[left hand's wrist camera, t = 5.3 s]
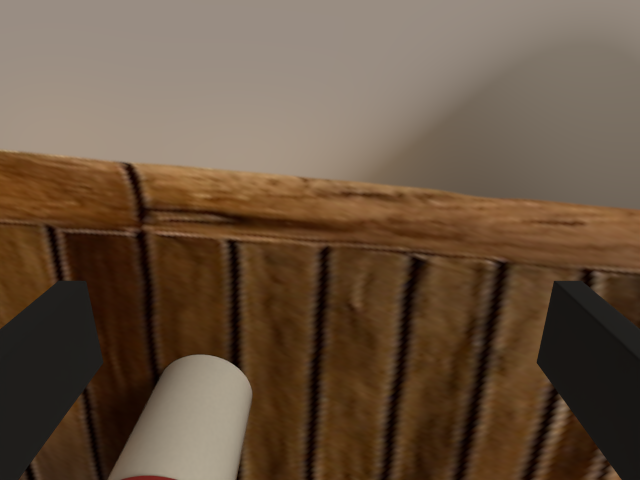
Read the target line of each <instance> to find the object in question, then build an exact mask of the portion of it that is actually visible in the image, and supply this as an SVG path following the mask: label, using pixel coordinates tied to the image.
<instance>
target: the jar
mask: <svg viewBox="0 0 640 480" xmlns="http://www.w3.org/2000/svg"><path fill="white" fill-rule="evenodd" d="M251 404H252V390H251V386H250V383H249V381H248V380H247V378H246V376H245V375H244V374H243V372H242V371H241V370H239V369H238V368H237V367H236V366H235V365H233V364H232V363H230V362H228V361H226V360H224V359H221V358H219V357H215V356H211V355H191V356H186V357H183V358H180V359H178V360H176V361H174V362H173V363H171V364H170V365H169V366H168V367H167V368H165V370H164V371H163V372H162V374H161V376H160V378H159V380H158V382H157V384H156V385H155V387H154V389H153V391H152V393H151V395H150V397H149V399H148V401H147V403H146V405H145V407H144V409H143V411H142V413H141V415H140V417H139V419H138V421H137V423H136V425H135V426H134V428H133V430H132V432H131V434H130V436H129V438H128V440H127V442H126V444H125V446H124V448H123V450H122V452H121V454H120V456H119V458H118V460H117V462H116V464H115V465H114V467H113V469H112V471H111V473H110V475H109V477H108V479H107V480H121V479H124V478H129V477H134V476H149V475H150V476H162V477H168V478H173V479H176V480H236V478H237V473H238V468H239V463H240V458H241V453H242V448H243V443H244V438H245V433H246V428H247V423H248V418H249V414H250V409H251Z"/></svg>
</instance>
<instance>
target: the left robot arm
mask: <svg viewBox="0 0 640 480" xmlns="http://www.w3.org/2000/svg"><path fill="white" fill-rule="evenodd" d="M102 364H103V359H102V354H101V350H100V345H99V340H98V335H97V331H96V326H95V321H94V317H93V312H92V307H91V303H90V298H89V293H88V289H87V284H86V281H58V282H57V283H56V284H54V285H53V286H52V287H51V288H50V289H48V290H47V291H46V292H45V293H43V294H42V295H41V296H40V297H39V298H37V299H36V300H35V301H34V302H33V303H31V304H30V305H29V306H28V307H27V308H25V309H24V310H23V311H22V312H21V313H19V314H18V315H17V316H16V317H14V318H13V319H12V320H11V321H10V322H8V323H7V324H6V325H5V326H4V327H2V328H1V329H0V480H18V479H19V478H20V477H21V475H22V474H23V472H24V471H25V470H26V468H27V467H28V466H29V464H30V463H31V461H32V460H33V459H34V457H35V456H36V455H37V453H38V452H39V450H40V449H41V448H42V446H43V445H44V444H45V442H46V441H47V439H48V438H49V437H50V435H51V434H52V433H53V431H54V430H55V428H56V427H57V426H58V424H59V423H60V422H61V420H62V419H63V417H64V416H65V415H66V413H67V412H68V411H69V409H70V408H71V406H72V405H73V404H74V402H75V401H76V400H77V398H78V397H79V395H80V394H81V393H82V391H83V390H84V389H85V387H86V386H87V384H88V383H89V382H90V380H91V379H92V378H93V376H94V375H95V373H96V372H97V371H98V369H99V368H100V367H101V365H102ZM537 364H538V365H539V367H540V368H541V369H542V371H543V372H544V373H545V375H546V376H547V378H548V379H549V380H550V382H551V383H552V384H553V386H554V387H555V389H556V390H557V391H558V393H559V394H560V395H561V397H562V398H563V400H564V401H565V402H566V404H567V405H568V406H569V408H570V409H571V411H572V412H573V413H574V415H575V416H576V417H577V419H578V420H579V422H580V423H581V424H582V426H583V427H584V428H585V430H586V431H587V433H588V434H589V435H590V437H591V438H592V439H593V441H594V442H595V444H596V445H597V446H598V448H599V449H600V450H601V452H602V453H603V455H604V456H605V457H606V459H607V460H608V461H609V463H610V464H611V466H612V467H613V468H614V470H615V471H616V472H617V474H618V475H619V477H620V478H621V479H622V480H640V329H639V328H638V327H636V326H635V325H634V324H633V323H632V322H630V321H629V320H628V319H627V318H626V317H624V316H623V315H622V314H621V313H619V312H618V311H617V310H616V309H615V308H613V307H612V306H611V305H610V304H609V303H607V302H606V301H605V300H604V299H603V298H601V297H600V296H599V295H598V294H597V293H595V292H594V291H593V290H592V289H590V288H589V287H588V286H587V285H586V284H584V283H583V282H582V281H554V284H553V289H552V293H551V298H550V303H549V307H548V312H547V317H546V321H545V326H544V331H543V335H542V340H541V345H540V350H539V354H538V359H537Z"/></svg>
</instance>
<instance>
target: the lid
mask: <svg viewBox="0 0 640 480" xmlns="http://www.w3.org/2000/svg"><path fill="white" fill-rule="evenodd" d="M121 480H176V479H173V478H168V477H162V476H150V475H149V476H134V477H129V478H124V479H121Z"/></svg>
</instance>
